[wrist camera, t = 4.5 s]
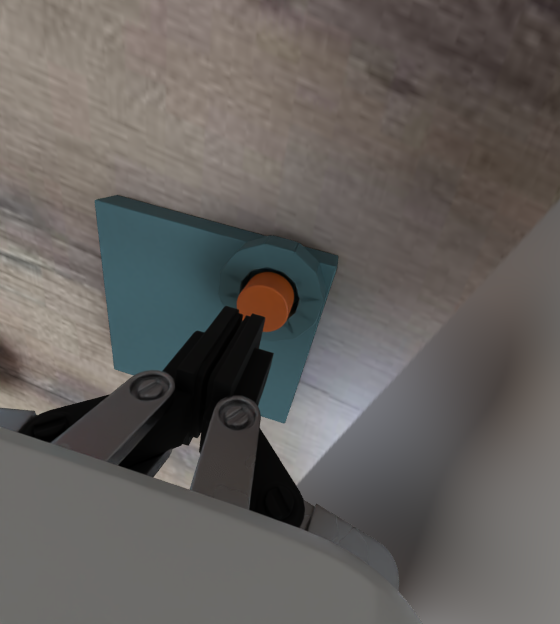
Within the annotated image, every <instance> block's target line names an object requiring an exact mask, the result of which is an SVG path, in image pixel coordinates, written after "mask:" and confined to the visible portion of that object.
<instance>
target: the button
mask: <svg viewBox="0 0 560 624" xmlns="http://www.w3.org/2000/svg"><path fill="white" fill-rule="evenodd" d="M293 302H294V292H293V289H292V286H291V285H290V283H289V282H288V281H287V280H286V279H285V278H284V277H283V276H281V275H279V274H277V273H273V272H262V273H259V274H257V275H255V276H253V277H252V278H251V279H250V281H249V282H248V283H247V285H246V286H245V287H244V289H243V290H242V291H241V293H240V294H239V296H238V299H237V309H239V313H240V314H243V318H242V321H243V320H244V318H245V316H246V315H247V316H251V314H252V313H253V314H256V315H260V316H263V317H265V323H264V328H263V332H271V331H275V330H277V329H279V328H280V327H282V326H283V325H284V324H285V322H286V321H287V318H288V316H289V313H290V310H291V307H292V305H293Z"/></svg>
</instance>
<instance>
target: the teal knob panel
mask: <svg viewBox="0 0 560 624" xmlns="http://www.w3.org/2000/svg"><path fill="white" fill-rule="evenodd" d="M95 208H96V217H97V225H98V234H99V242H100V251H101V259H102V268H103V277H104V285H105V294H106V302H107V311H108V319H109V328H110V336H111V345H112V353H113V362H114V369H115V370H118V371H122V372H125V373H128V374H131V375H136V374H137V373H140V372H143V371H148V370H160V371H163V369H164V368H165V367H166V366H167V365H168V363H169V362H170V361H171V360H172V359H173V357H174V356H175V355H176V354H177V352H178V351H179V350H180V349H181V348H182V346H183V345H184V344H185V343H186V342H187V340H188V339H189V338H190V337H191V336H192V334H193V333H194V332H195V331H197V330H198V331H201V332H205V331H206V330H207V329H208V327H209V326H210V325H211V323H212V322H213V321H214V319H215V318H216V317H217V316H218V314H219V313H220V312H221V310H222V309H223V308H224V307H225V306H229V307H232V308H236V309H237V299H238V296H239V294H240V293H241V291H242V290H243V289H244V287H245V286H246V285H247V283H248V282H249V281H250V279H251V278H252V277H253V276H255V275H257V274H259V273H262V272H273V273H277V274H279V275H281V276H283V277H284V278H285V279H286V280H287V281H288V282H289V283H290V285H291V286H292V289H293V292H294V302H293V305H292V307H291V310H290V313H289V316H288V318H287V321H286V322H285V324H284V325H283V326H282V327H280V328H279V329H277V330H275V331H271V332H262V337H261V341H260V346H259V349H262V350H265V351H268V352H272V353H274V355H273V359H272V363H271V367H270V371H269V374H268V378H267V381H266V384H265V387H264V390H263V393H262V396H261V399H260V402H259V405H258V407H259V410H260V413H261V416H262V417H265V418H268V419H272V420H275V421H278V422H281V423H285V422H286V419H287V416H288V413H289V410H290V407H291V404H292V401H293V398H294V395H295V392H296V389H297V386H298V383H299V380H300V377H301V374H302V371H303V368H304V365H305V362H306V359H307V356H308V353H309V350H310V347H311V344H312V341H313V338H314V335H315V332H316V329H317V326H318V323H319V320H320V317H321V314H322V311H323V308H324V305H325V302H326V299H327V296H328V294H329V291H330V288H331V285H332V282H333V279H334V276H335V273H336V270H337V264H338V256H337V255H333V254H330V253H326V252H322V251H319V250H315V249H311V248H308V247H304V246H302V245H301V244H300V243H298V242H295V241H292V240H288V239H285V238H281V237H277V236H274V235H273V236H271V235H270V236H264V235H260V234H257V233H253V232H250V231H246V230H242V229H239V228H235V227H231V226H228V225H224V224H220V223H217V222H213V221H209V220H206V219H202V218H199V217H195V216H191V215H188V214H184V213H180V212H177V211H173V210H169V209H166V208H162V207H158V206H155V205H151V204H148V203H144V202H140V201H137V200H133V199H129V198H126V197H122V196H118V195H115V196H111V197H106V198H101V199H97V200H95Z"/></svg>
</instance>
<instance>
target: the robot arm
mask: <svg viewBox="0 0 560 624" xmlns="http://www.w3.org/2000/svg"><path fill="white" fill-rule="evenodd" d="M242 318H243V314H240V313H239V309H236V308H232V307H229V306H225V307H224V308H223V309H222V310H221V312H220V313H219V314H218V316H217V317H216V318H215V319H214V321H213V322H212V323H211V325H210V326H209V327H208V329H207V330H206V331H205V332H201V331H198V330H197V331H195V332H194V333H193V334H192V336H191V337H190V338H189V339H188V340H187V342H186V343H185V344H184V345H183V346H182V348H181V349H180V350H179V351H178V352H177V354H176V355H175V356H174V357H173V359H172V360H171V361H170V362H169V363H168V365H167V366H166V367H165V368H164V369H163V371H160V370H148V371H143V372H140V373H137V374H136V375H134V376H132V377H131V378H130V379H128V380H127V381H126V382H125V383H124V384H122V385H121V386H120V387H119V388H117V389H116V390H115V391H114V392H113V393H111V394H110V395H106V396H102V397H99V398H95V399H91V400H87V401H83V402H80V403H76V404H72V405H68V406H64V407H61V408H57V409H53V410H50V411H47V412H44V413H41V414H39V415H36V413H35V411H29V410H19V409H8V408H0V624H422V622H421V620H420V619H419V617H418V615H417V614H416V613H415V611H414V610H413V608H412V607H411V606H410V604H409V603H408V602H407V601H406V599H405V598H404V597H403V596H402V595H401V594H400V593H399V592H398V588H399V578H398V577H399V576H398V569H397V566H396V564H395V561H394V558H393V557H392V555H391V554H390V553H389V551H388V550H387V548H386V547H385V546H383V545H382V544H381V543H380V542H379V541H377V540H375V539H374V538H372V537H371V536H369V535H367V534H365V533H364V532H362V531H361V530H359V529H357V528H356V527H354V526H352V525H351V524H349V523H348V522H346V521H344V520H342V519H341V518H339V517H337V516H336V515H334V514H333V513H331V512H329V511H328V510H326V509H324V508H323V507H321V506H320V505H318V504H316V505H315V506H313V505H311V504H310V503H308V502H306V501H305V500H303V498H302V495H301V493H300V491H299V490H298V488H297V486H296V485H295V483H294V482H293V480H292V478H291V477H290V475H289V474H288V472H287V470H286V469H285V467H284V466H283V464H282V462H281V461H280V459H279V458H278V456H277V455H276V453H275V451H274V450H273V448H272V447H271V445H270V443H269V442H268V440H267V439H266V437H265V435H264V434H263V432H262V431H261V429H260V420H261V413H260V410H259V407H258V405H259V402H260V399H261V396H262V393H263V390H264V387H265V384H266V381H267V378H268V374H269V371H270V367H271V363H272V359H273V355H274V353H272V352H268V351H265V350H262V349H259V346H260V341H261V337H262V332H263V328H264V323H265V317H263V316H260V315H256V314H253V313H252V314H251V316H247V315H246V316H245V318H244V320H243V321H242ZM200 433H201V440H200V449H199V452H200V457H199V460H198V464H197V467H196V470H195V473H194V477H193V480H192V483H191V487H190V490H189V489H186V488H183V487H180V486H177V485H174V484H171V483H168V482H165V481H162V480H159V479H156V478H153V477H154V476H155V475H156V473H157V472H158V471H159V469H160V468H161V467H162V465H163V464H164V463H165V462H166V460H167V459H168V458H169V456H170V454H171V452H172V449H174V448H176V447H179V446H181V445H182V444H185V445H188V446H189V444H190V442H191V440H192V438H193V437H195V438H198V437H199V435H200Z"/></svg>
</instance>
